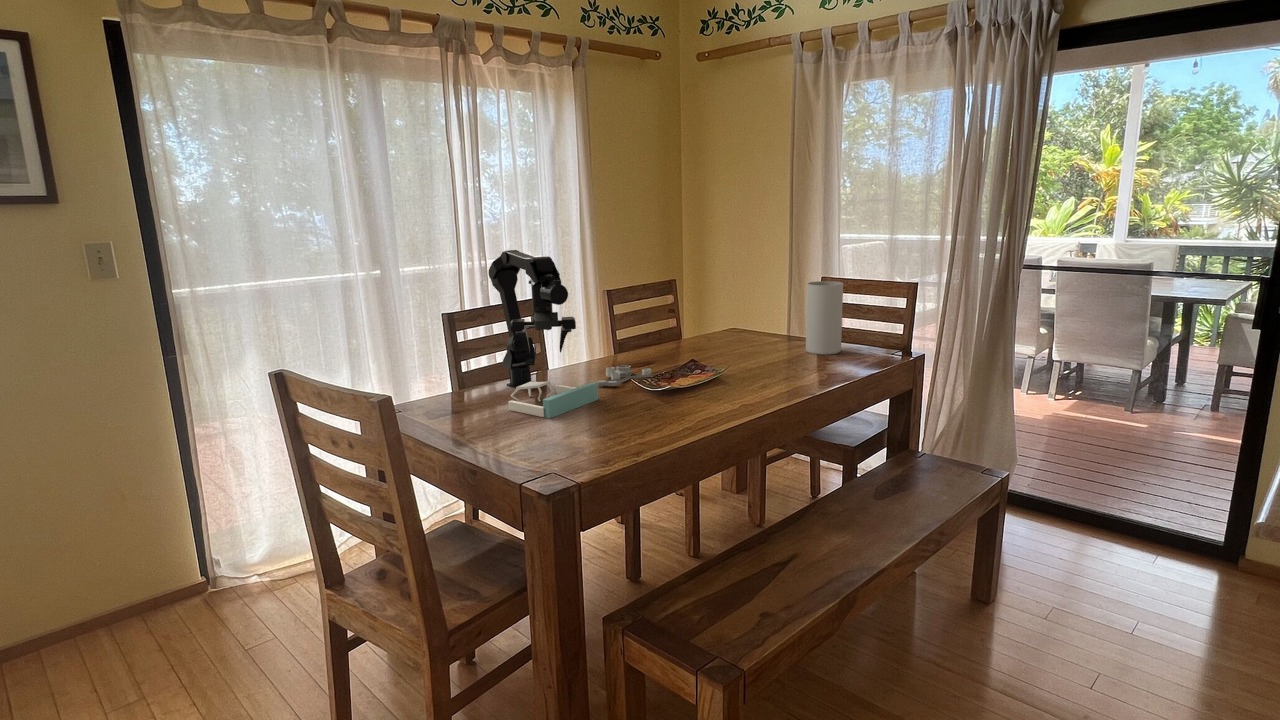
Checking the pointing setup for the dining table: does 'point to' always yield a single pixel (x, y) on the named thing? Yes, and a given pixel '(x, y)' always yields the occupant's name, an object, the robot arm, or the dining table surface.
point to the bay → (559, 401)
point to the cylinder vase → (824, 317)
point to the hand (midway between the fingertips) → (544, 352)
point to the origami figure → (532, 385)
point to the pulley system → (621, 375)
